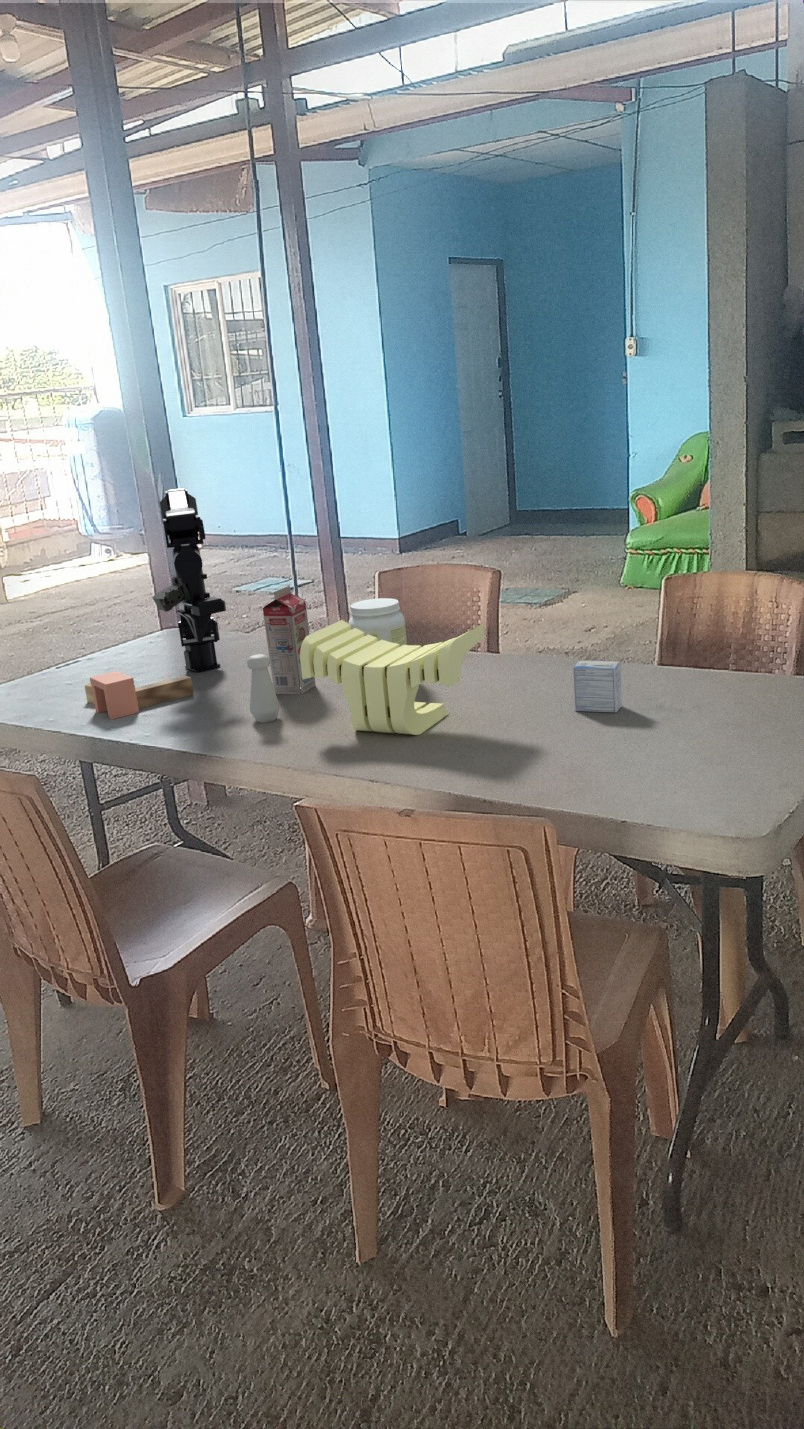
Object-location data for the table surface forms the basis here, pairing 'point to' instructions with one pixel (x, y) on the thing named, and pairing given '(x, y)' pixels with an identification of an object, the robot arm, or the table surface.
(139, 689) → the wooden plank
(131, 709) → the arch block
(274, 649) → the juice carton
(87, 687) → the wooden cube
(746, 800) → the table surface
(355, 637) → the slatted curved stool
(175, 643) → the table surface
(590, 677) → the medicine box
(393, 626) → the supplement tub
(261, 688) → the salt shaker
